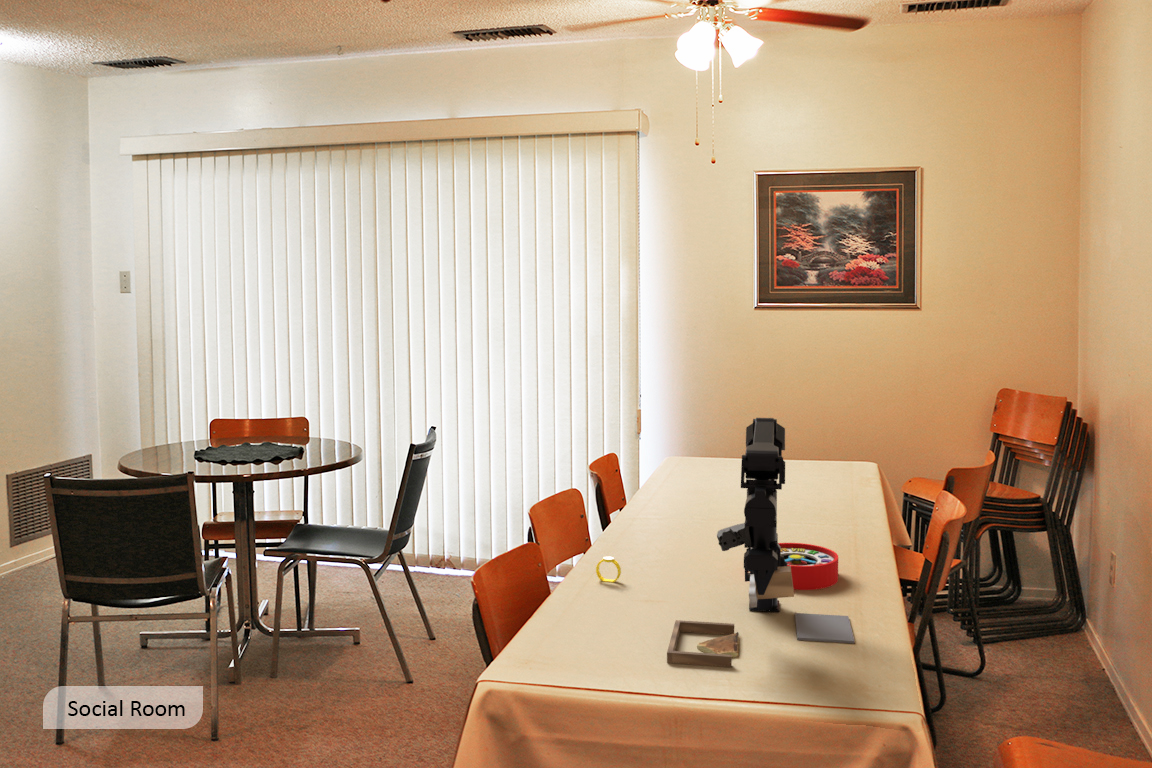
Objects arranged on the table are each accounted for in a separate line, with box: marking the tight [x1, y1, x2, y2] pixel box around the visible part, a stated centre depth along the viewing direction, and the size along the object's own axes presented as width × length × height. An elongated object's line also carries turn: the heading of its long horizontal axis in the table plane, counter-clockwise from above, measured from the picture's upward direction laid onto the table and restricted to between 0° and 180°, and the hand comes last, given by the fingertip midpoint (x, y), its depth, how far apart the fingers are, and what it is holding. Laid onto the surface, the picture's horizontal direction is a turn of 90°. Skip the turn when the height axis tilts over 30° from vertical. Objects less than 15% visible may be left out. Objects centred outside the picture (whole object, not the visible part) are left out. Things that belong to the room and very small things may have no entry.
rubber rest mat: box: [794, 612, 856, 644], centre depth 186 cm, size 14×11×1 cm
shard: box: [696, 631, 740, 658], centre depth 176 cm, size 11×8×2 cm
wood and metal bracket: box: [748, 566, 795, 608], centre depth 175 cm, size 12×8×5 cm
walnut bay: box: [666, 619, 735, 668], centre depth 177 cm, size 17×12×2 cm
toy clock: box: [778, 542, 839, 591], centre depth 219 cm, size 20×6×20 cm
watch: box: [595, 555, 622, 583], centre depth 218 cm, size 6×3×6 cm, turn 69°
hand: (761, 591), depth 176 cm, fingers closed on wood and metal bracket, 3 cm apart
